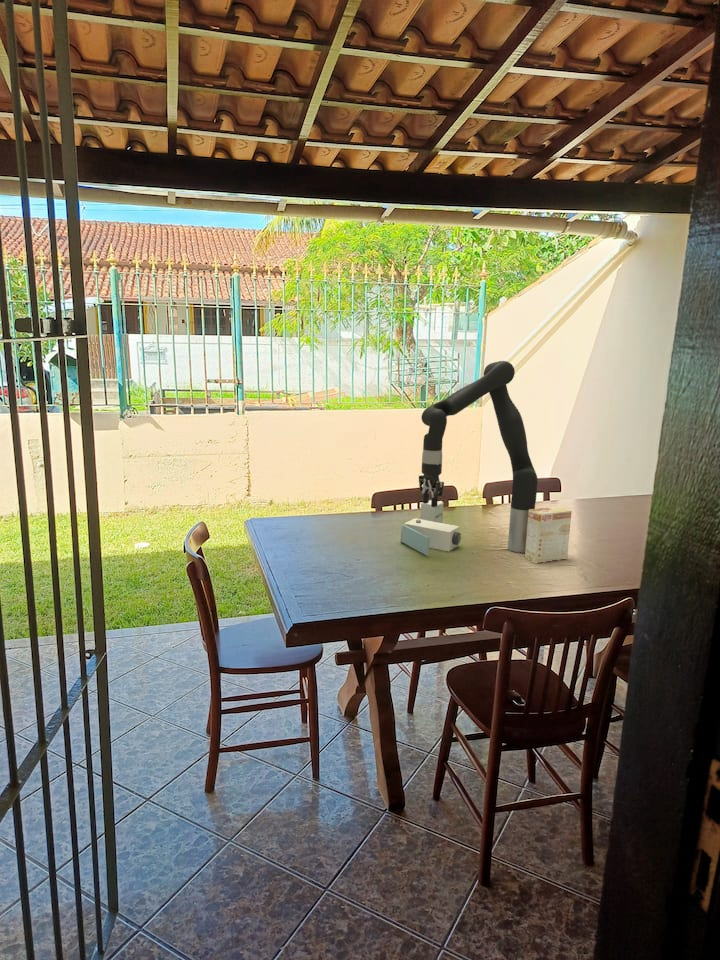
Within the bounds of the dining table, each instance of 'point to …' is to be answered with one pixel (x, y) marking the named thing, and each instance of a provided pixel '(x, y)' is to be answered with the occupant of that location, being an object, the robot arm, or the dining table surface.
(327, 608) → the dining table surface
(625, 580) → the dining table surface
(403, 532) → the door
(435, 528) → the camera housing
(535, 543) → the coffeecake box
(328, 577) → the dining table surface
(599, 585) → the dining table surface
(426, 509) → the supplement box
